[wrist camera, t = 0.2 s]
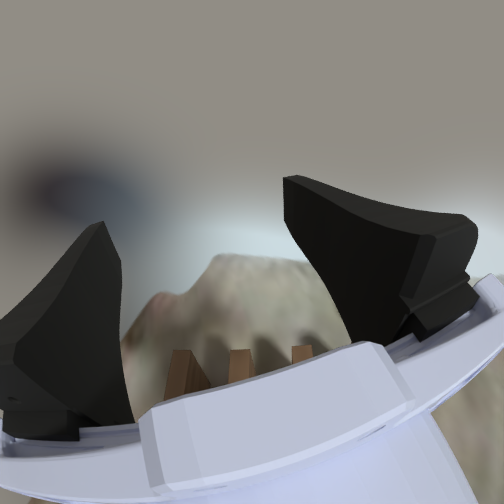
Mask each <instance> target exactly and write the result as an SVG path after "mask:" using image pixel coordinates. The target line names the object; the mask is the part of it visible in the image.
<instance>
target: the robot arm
mask: <svg viewBox="0 0 504 504" xmlns="http://www.w3.org/2000/svg"><path fill="white" fill-rule="evenodd" d="M283 198H284V221H285V223H286V225H287V228H288V229H289V231H290V233H291V235H292V237H293V239H294V240H295V242H296V243H297V245H298V246H299V248H300V249H301V250H302V252H303V253H304V255H305V256H306V258H307V259H308V260H309V262H310V263H311V265H312V266H313V267H314V269H315V270H316V272H317V273H318V275H319V276H320V277H321V279H322V281H323V282H324V284H325V286H326V288H327V289H328V291H329V293H330V295H331V297H332V299H333V301H334V303H335V305H336V307H337V309H338V311H339V313H340V316H341V318H342V320H343V322H344V324H345V327H346V329H347V331H348V334H349V336H350V339H351V341H352V344H350V345H346V346H342V347H338V348H336V349H333V350H331V351H328V352H326V353H323V354H320V355H318V356H315V357H312V358H310V359H307V360H304V361H301V362H298V363H296V364H293V365H290V366H287V367H284V368H281V369H278V370H275V371H272V372H268V373H265V374H262V375H259V376H255V377H252V378H249V379H245V380H242V381H238V382H234V383H231V384H227V385H223V386H219V387H215V388H211V389H207V390H203V391H198V392H194V393H190V394H185V395H182V396H179V397H176V398H172V399H169V400H166V401H163V402H160V403H157V404H155V405H154V406H153V407H152V408H151V409H149V410H148V411H147V412H146V413H145V414H144V415H143V416H142V417H141V418H140V419H139V420H138V423H135V421H134V417H133V414H132V410H131V406H130V402H129V398H128V394H127V389H126V384H125V379H124V373H123V366H122V359H121V350H120V340H119V324H120V306H121V291H122V269H121V260H120V258H119V256H118V253H117V251H116V249H115V247H114V245H113V242H112V240H111V237H110V235H109V233H108V230H107V228H106V226H105V223H104V221H102V222H98V223H95V224H92V225H90V226H89V227H87V228H86V229H85V230H84V231H83V232H82V233H81V235H80V236H79V237H78V238H77V239H76V240H75V242H74V243H73V244H72V245H71V246H70V248H69V249H68V250H67V251H66V252H65V254H64V255H63V256H62V257H61V258H60V260H59V261H58V262H57V263H56V264H55V265H54V267H53V268H52V269H51V270H50V271H49V273H48V274H47V275H46V276H45V277H44V278H43V279H42V281H41V282H40V283H39V284H38V285H37V286H36V287H35V288H34V289H33V290H32V291H31V292H30V293H29V294H28V295H27V296H26V297H25V298H24V299H23V300H22V301H21V302H20V303H19V304H18V305H17V306H15V308H13V309H12V310H11V311H10V312H9V313H8V314H7V315H5V316H4V317H3V318H2V319H1V320H0V409H1V410H3V411H4V414H3V419H2V418H0V487H2V488H5V489H7V490H11V491H13V492H16V493H20V494H23V495H26V496H30V497H34V498H38V499H43V500H48V501H52V502H58V503H63V504H478V502H477V500H476V497H475V495H474V493H473V491H472V489H471V487H470V485H469V483H468V481H467V479H466V477H465V475H464V473H463V471H462V469H461V467H460V465H459V463H458V461H457V460H456V458H455V456H454V454H453V452H452V450H451V448H450V447H449V445H448V443H447V441H446V439H445V438H444V436H443V434H442V432H441V431H440V429H439V427H438V425H437V424H436V422H435V420H434V418H433V417H432V415H431V413H430V412H432V411H433V410H435V409H436V408H437V407H439V406H440V405H441V404H443V403H444V402H445V401H446V400H448V399H449V398H450V397H451V396H453V395H454V394H455V393H456V392H458V391H459V390H460V389H461V388H462V387H463V386H465V385H466V384H467V383H468V382H469V381H470V380H471V379H473V378H474V377H475V376H476V375H477V374H478V373H479V372H480V371H481V370H482V369H483V368H484V367H486V366H487V365H488V364H489V363H490V362H491V361H492V360H493V359H494V358H495V357H496V356H497V355H498V354H499V352H500V351H501V350H502V349H503V348H504V286H503V284H502V283H501V282H500V281H499V280H498V279H497V278H496V277H495V276H494V275H493V274H492V273H490V274H488V275H487V276H485V277H484V278H482V279H481V280H479V281H478V282H477V283H476V284H475V285H474V286H473V288H472V287H471V286H470V285H469V284H468V283H467V282H468V281H469V280H470V276H469V275H468V274H467V273H466V272H465V269H466V267H467V265H468V262H469V261H470V259H471V256H472V254H473V252H474V249H475V247H476V244H477V239H478V228H477V226H476V224H475V223H473V222H472V221H471V220H470V219H469V218H467V217H466V216H464V215H462V214H451V213H437V212H429V211H422V210H415V209H409V208H404V207H399V206H394V205H390V204H386V203H381V202H378V201H375V200H371V199H367V198H364V197H361V196H358V195H355V194H352V193H349V192H346V191H343V190H340V189H338V188H335V187H332V186H330V185H327V184H324V183H322V182H319V181H316V180H313V179H310V178H307V177H304V176H299V175H295V176H288V177H283Z"/></svg>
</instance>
